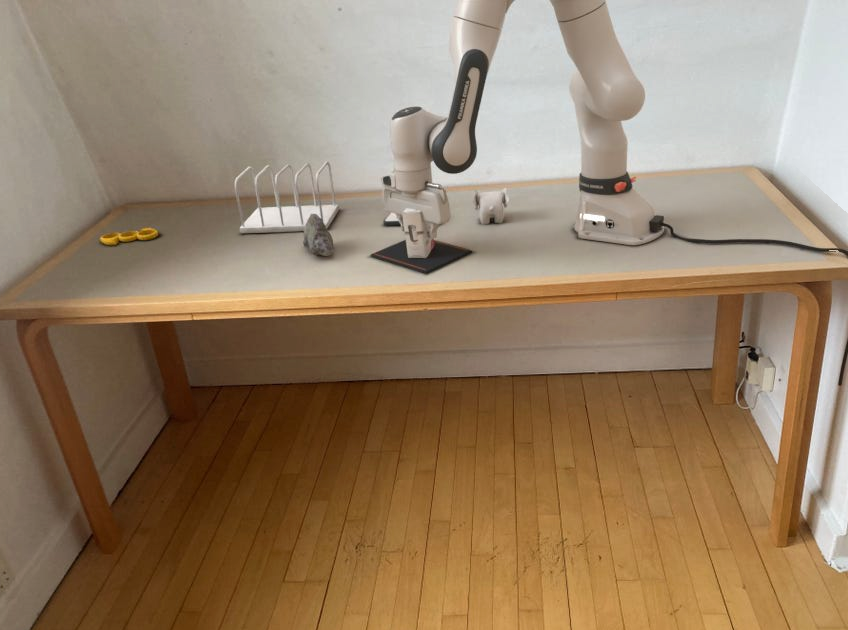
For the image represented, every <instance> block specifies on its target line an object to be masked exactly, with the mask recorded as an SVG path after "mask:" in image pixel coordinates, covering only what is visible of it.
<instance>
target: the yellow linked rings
mask: <svg viewBox="0 0 848 630" xmlns="http://www.w3.org/2000/svg"><path fill="white" fill-rule="evenodd" d="M158 236H159V231H158V230H157V229H154V228H153V227H143V228H141V229H140V230H139V231H137V230H130V231H125V232H122V233H120V232H110V233H106V234H103V235H102V236H100V238H99V239H100V242H101V243H102V244H104V245H106V246H117V245H118V244H119V243H120V242H122V243H130V242H134V241H137V240H139V241H150V240H154V239H156V238H157V237H158Z"/></svg>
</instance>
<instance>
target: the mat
mask: <svg viewBox="0 0 848 630" xmlns="http://www.w3.org/2000/svg"><path fill="white" fill-rule="evenodd" d="M472 253H473V250H472V249H470V248H469V249H468V248H465V247H461V246H457V245H453V244H450V243H446V242H443V241H438V240H435V239H434V247H433V248H432V250H431V252H430V253H429V255H428V256H427V258H408V252H407V244H406V239H404V240H402V241H398V242H397V243H394V244H392V245H390V246H387V247H385V248H383V249H380V250H378V251H375V252H372V253H371V254H370V257H371V258H375V259H377V260H380V261H384V262H387V263H390V264H393V265H397V266H399V267H403V268H406V269H409V270H413V271H416V272H419V273H422V274H425V275H427V274H429V273H432V272H434V271H436V270H438V269H440V268H442V267H444V266H447V265H449V264H450V263H453V262H455V261H457V260H459V259H462V258H463V257H466V256H468V255H470V254H472Z"/></svg>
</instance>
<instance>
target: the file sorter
mask: <svg viewBox="0 0 848 630" xmlns="http://www.w3.org/2000/svg"><path fill="white" fill-rule="evenodd" d="M292 167H293V166H292V165H291V164H290V163H287V164H286V165H285V166H284V167H283V168H281V170H279V171H278V172H277V173H276V174H275V177H274V173H273V168H272V166H271V164H267V165H266V166H264V167H263V168H262V169H261V170H260V171H259V172H258V174H256V173H255V170H254V168H253V167H252V166H248V167H246V169H244V170H243V171H242V172H241V173H240V174H239V175H238V176H237V177H236V178H235V180H234V192H235V197H236V201H237V207H238V212H239V217H240V222H241V226H240V227H239V233H240V234H264V233H266V234H267V233H291V232H304V228H305V224H306V223H307V220H308V218H309V217H310V214H317V215H318V216H319V217H320V218H321V219H322V220H323V222H324V225H325V227H326V229H327V230H328V228H329V226H330V225H331V223H332V222H333V220H334V218H335V217H336V216H337V213H338V212H339V211H340V206H339V204H337V203H336V198H335V190H334V182H333V175H332V174H333V173H332V168H331V164H330V162H329V161H328V160H327V161H325V162H324V163H323V164H322V166H321V167H320V168H319V169H318V170H317V171H316V174H315V182H314V177H313V176H314V175H313V171H312V166H311V164H310V163H308V162H307V163H305V164H304V165H303V166H302V167H301V168H300V169H299V170H298V171H297V172H296V173H295V176H294V172H293V168H292ZM307 167H308V170H309V177H310V183H311V190H312V198H313V204H314V205H312V204H311V205H310V204H309V205H301V199H300V193H299V186H298V177H299V175H300V174H301V173H302V172H303V171H304V170H305V169H306V168H307ZM325 167H327V168H328V174H329V180H330V181H329V182H330V190H331V197H332V204H322V201H321V194H320V187H319V185H320V184H319V177H320V176H319V175H320V174H321V173H322V171H323V170H324V169H325ZM288 168H289V171H290V177H291V182H292V183H291V184H292V191H293V197H294V202H295V205H288V206H287V205H286V206H284V205H283V206H282V204H281V198H280V193H279V185H278V178H279V176H280V175H282V174H283V172H285V170H287V169H288ZM267 169H269V172H270V178H271V183H272V186H273V192H274V197H275V203H276V206H267V207H265V206H264V207H262V203H261V197H260V191H259V184H258V180H259V177H260V176H262V174H264V172H265V171H266V170H267ZM249 170H250V171H251V174H252V179H253V185H254V190H255V195H256V201H257V206H258V207H257V208H256V209H255V210H254V211H253V212H252V213H251V215H250V216H249V217H248V218H247V219H246V220H244V216H243V210H242V205H241V201H240V196H239V190H238V183H239V182H238V181H239V180H240V179H241V178H242V177H243V176H244V175H245V174H246V173H248V171H249ZM314 183H315V184H314ZM315 185H316V187H315ZM315 188H316V191H315ZM316 193H317V198H316ZM317 200H318V204H317Z"/></svg>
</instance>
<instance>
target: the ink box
mask: <svg viewBox="0 0 848 630" xmlns="http://www.w3.org/2000/svg"><path fill="white" fill-rule="evenodd" d="M402 215H403V222H404V230H405V231H404V236H405V240H406V244H407V252H408V258H427V256H428V255H429V253H430V252H431V250H432V248H433V247H434V240H435V238H434V239H431V238H428V234H427V231H430V229H431V226H430V225H429V222H428V221H424V220H422V213H421V211H419V210H415V209H408V208H406V209H405V210H404V211H403V213H402Z"/></svg>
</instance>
